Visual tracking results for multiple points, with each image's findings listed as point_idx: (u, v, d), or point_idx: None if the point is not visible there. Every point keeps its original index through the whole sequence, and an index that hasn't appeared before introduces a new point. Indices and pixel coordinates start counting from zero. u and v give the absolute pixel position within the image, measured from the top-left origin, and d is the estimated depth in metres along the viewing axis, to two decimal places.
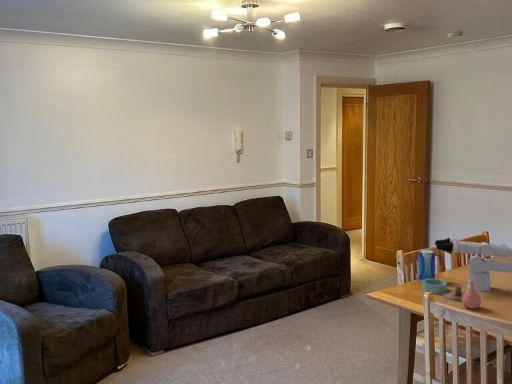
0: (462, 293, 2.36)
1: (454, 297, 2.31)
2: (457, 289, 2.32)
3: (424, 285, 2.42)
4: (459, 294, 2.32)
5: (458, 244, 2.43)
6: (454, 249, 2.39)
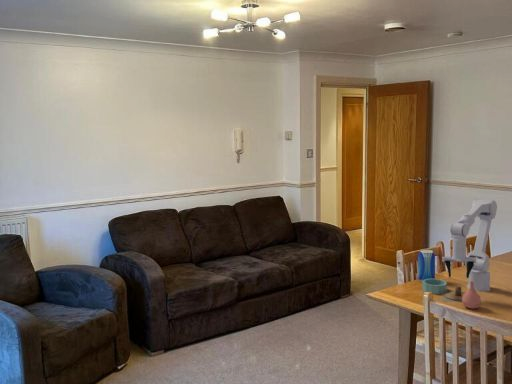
0: (462, 293, 2.36)
1: (454, 297, 2.31)
2: (457, 289, 2.32)
3: (424, 285, 2.42)
4: (459, 294, 2.32)
5: (464, 257, 2.29)
6: (475, 261, 2.29)
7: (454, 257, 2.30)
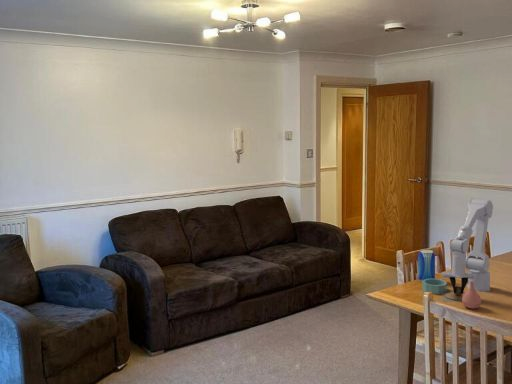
0: None
1: (454, 297, 2.31)
2: (457, 289, 2.32)
3: (424, 285, 2.42)
4: (459, 294, 2.32)
5: (464, 273, 2.30)
6: (475, 277, 2.30)
7: (454, 273, 2.31)
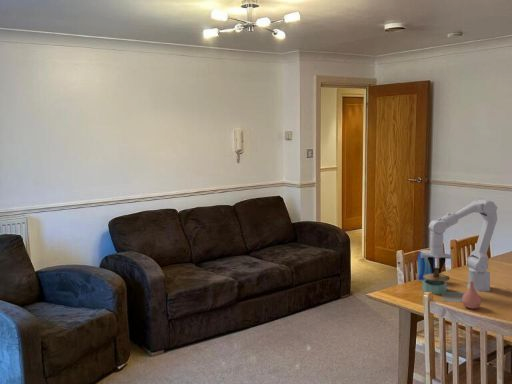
0: (440, 275, 2.44)
1: (433, 278, 2.39)
2: (435, 270, 2.41)
3: (424, 285, 2.42)
4: (437, 275, 2.41)
5: (441, 253, 2.39)
6: (452, 257, 2.39)
7: (432, 253, 2.40)
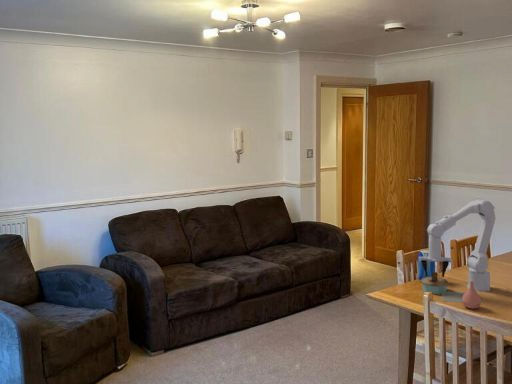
0: (438, 278, 2.46)
1: (431, 282, 2.40)
2: (433, 275, 2.42)
3: (424, 285, 2.42)
4: (435, 279, 2.42)
5: (440, 256, 2.40)
6: (450, 261, 2.40)
7: (430, 256, 2.41)
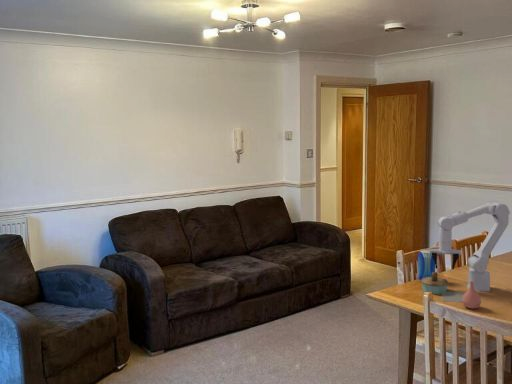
0: (438, 278, 2.46)
1: (431, 282, 2.40)
2: (433, 275, 2.42)
3: (424, 285, 2.42)
4: (435, 279, 2.42)
5: (450, 249, 2.42)
6: (460, 253, 2.42)
7: (440, 249, 2.43)
